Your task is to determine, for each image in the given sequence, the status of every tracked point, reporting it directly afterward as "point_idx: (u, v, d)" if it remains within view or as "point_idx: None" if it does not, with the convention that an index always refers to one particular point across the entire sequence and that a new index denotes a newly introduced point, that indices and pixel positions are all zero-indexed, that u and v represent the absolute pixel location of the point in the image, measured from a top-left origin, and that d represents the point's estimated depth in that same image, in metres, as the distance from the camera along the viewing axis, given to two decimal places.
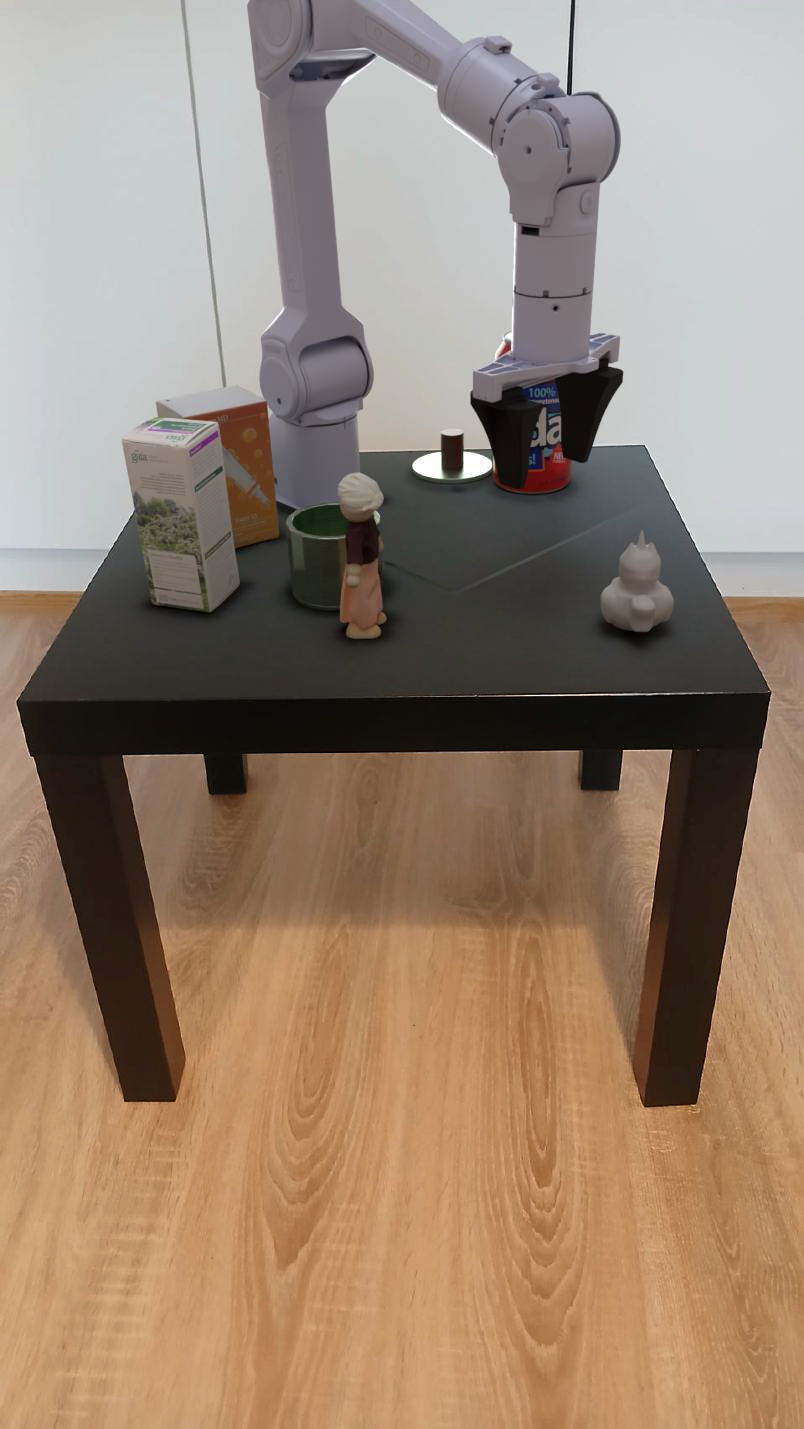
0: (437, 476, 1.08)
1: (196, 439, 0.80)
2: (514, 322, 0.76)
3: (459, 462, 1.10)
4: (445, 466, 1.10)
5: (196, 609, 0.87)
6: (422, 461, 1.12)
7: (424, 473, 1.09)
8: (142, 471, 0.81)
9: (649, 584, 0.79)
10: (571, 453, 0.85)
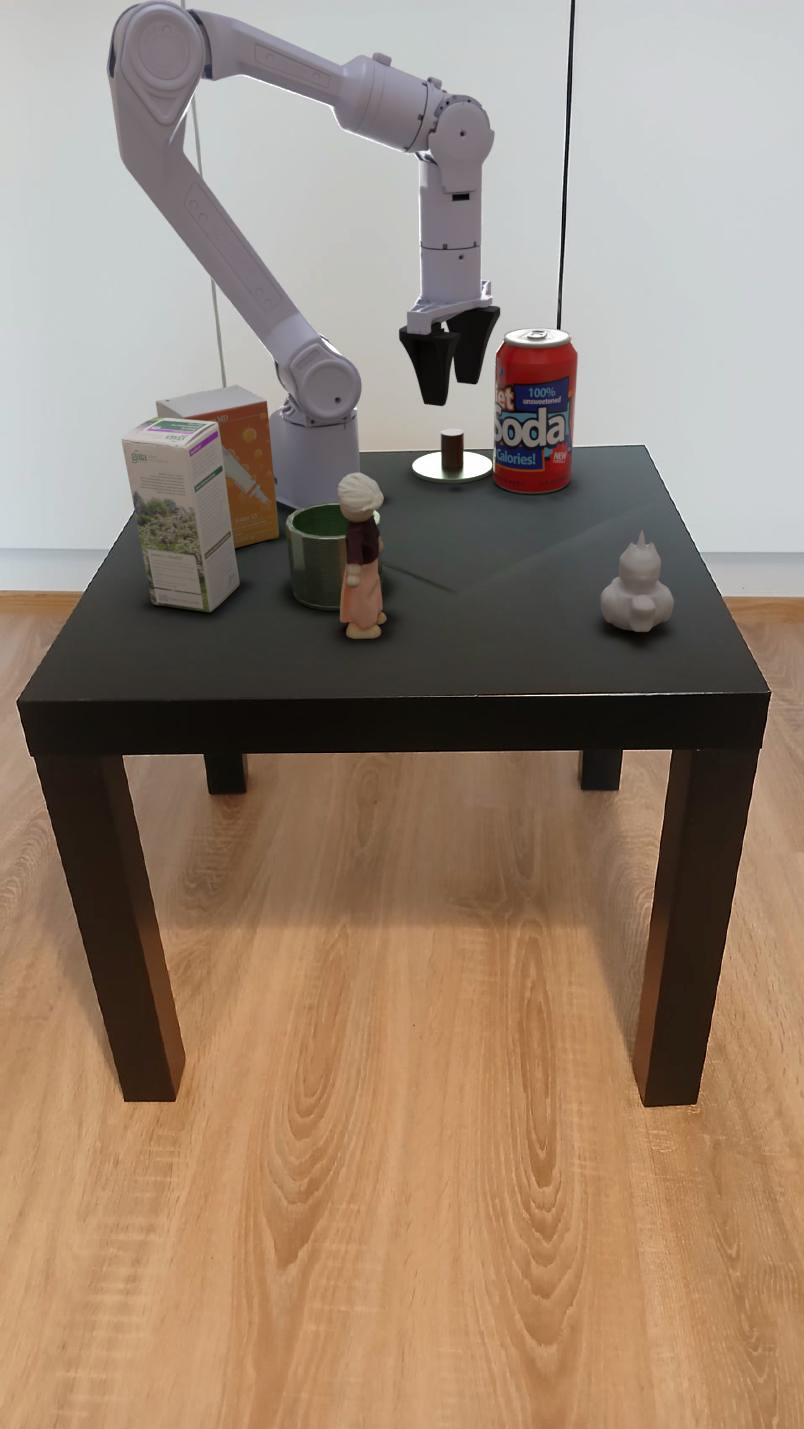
0: (437, 476, 1.08)
1: (196, 439, 0.80)
2: (425, 272, 0.96)
3: (459, 462, 1.10)
4: (445, 466, 1.10)
5: (196, 609, 0.87)
6: (422, 461, 1.12)
7: (424, 473, 1.09)
8: (142, 471, 0.81)
9: (649, 584, 0.79)
10: (464, 377, 1.06)
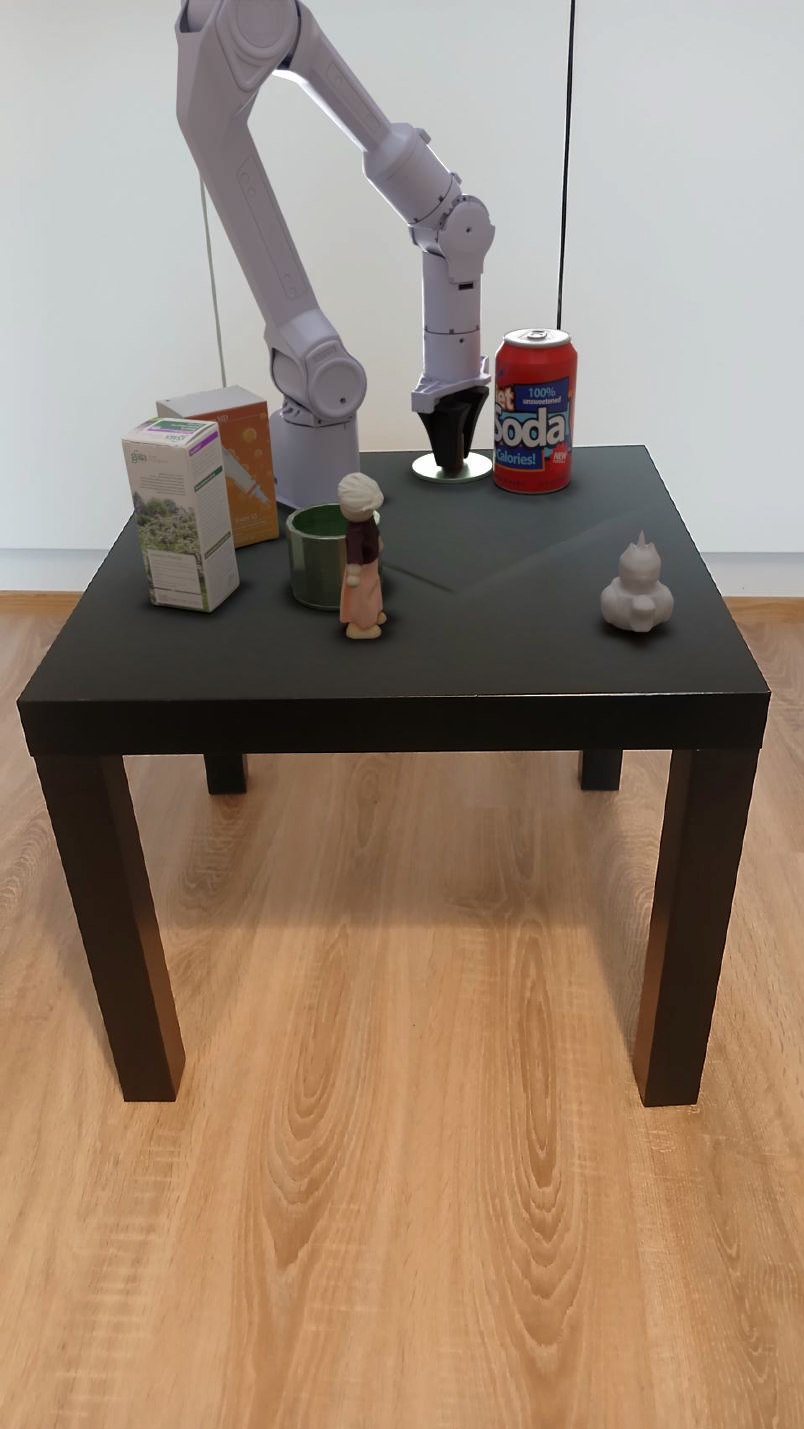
0: (437, 476, 1.08)
1: (195, 439, 0.80)
2: (428, 353, 1.03)
3: (459, 462, 1.10)
4: None
5: (196, 609, 0.87)
6: (422, 461, 1.12)
7: (424, 473, 1.09)
8: (142, 471, 0.81)
9: (649, 584, 0.79)
10: None
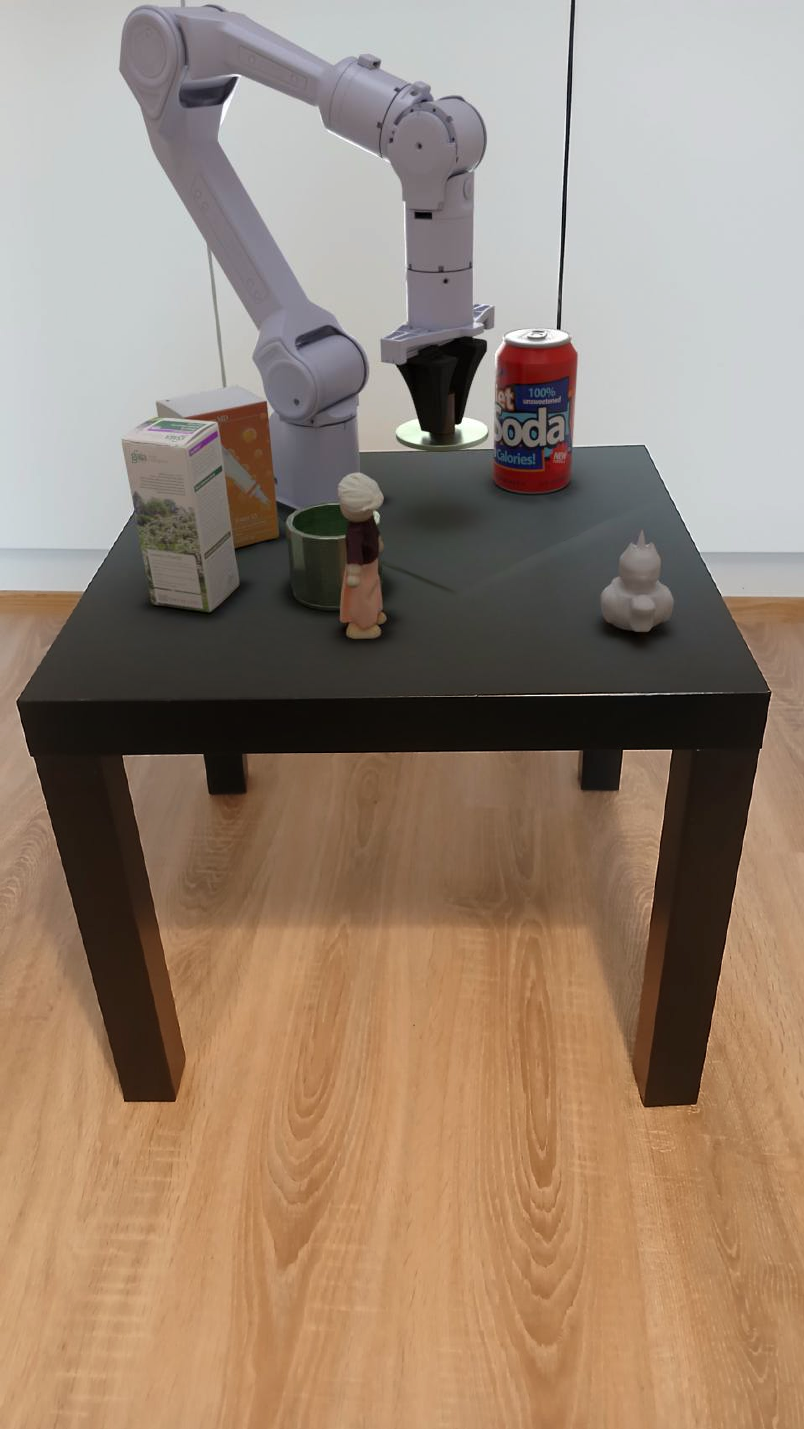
0: (418, 442, 0.93)
1: (195, 439, 0.80)
2: (409, 295, 0.88)
3: (448, 427, 0.94)
4: None
5: (196, 609, 0.87)
6: (410, 425, 0.97)
7: (405, 438, 0.94)
8: (142, 471, 0.81)
9: (648, 584, 0.79)
10: None
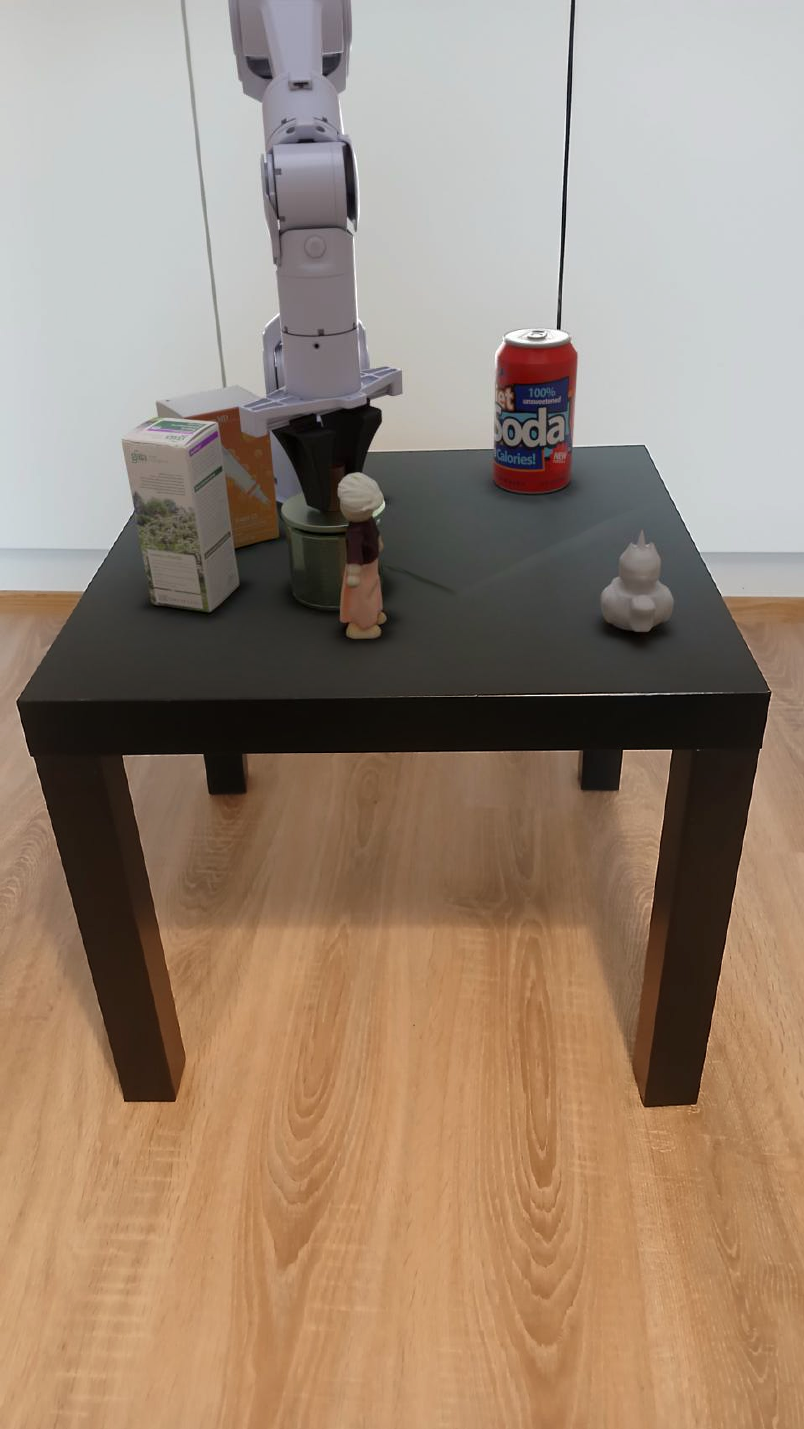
0: (297, 519, 0.83)
1: (195, 439, 0.80)
2: (283, 358, 0.78)
3: (336, 504, 0.84)
4: None
5: (196, 609, 0.87)
6: None
7: (287, 512, 0.84)
8: (142, 471, 0.81)
9: (648, 584, 0.79)
10: None
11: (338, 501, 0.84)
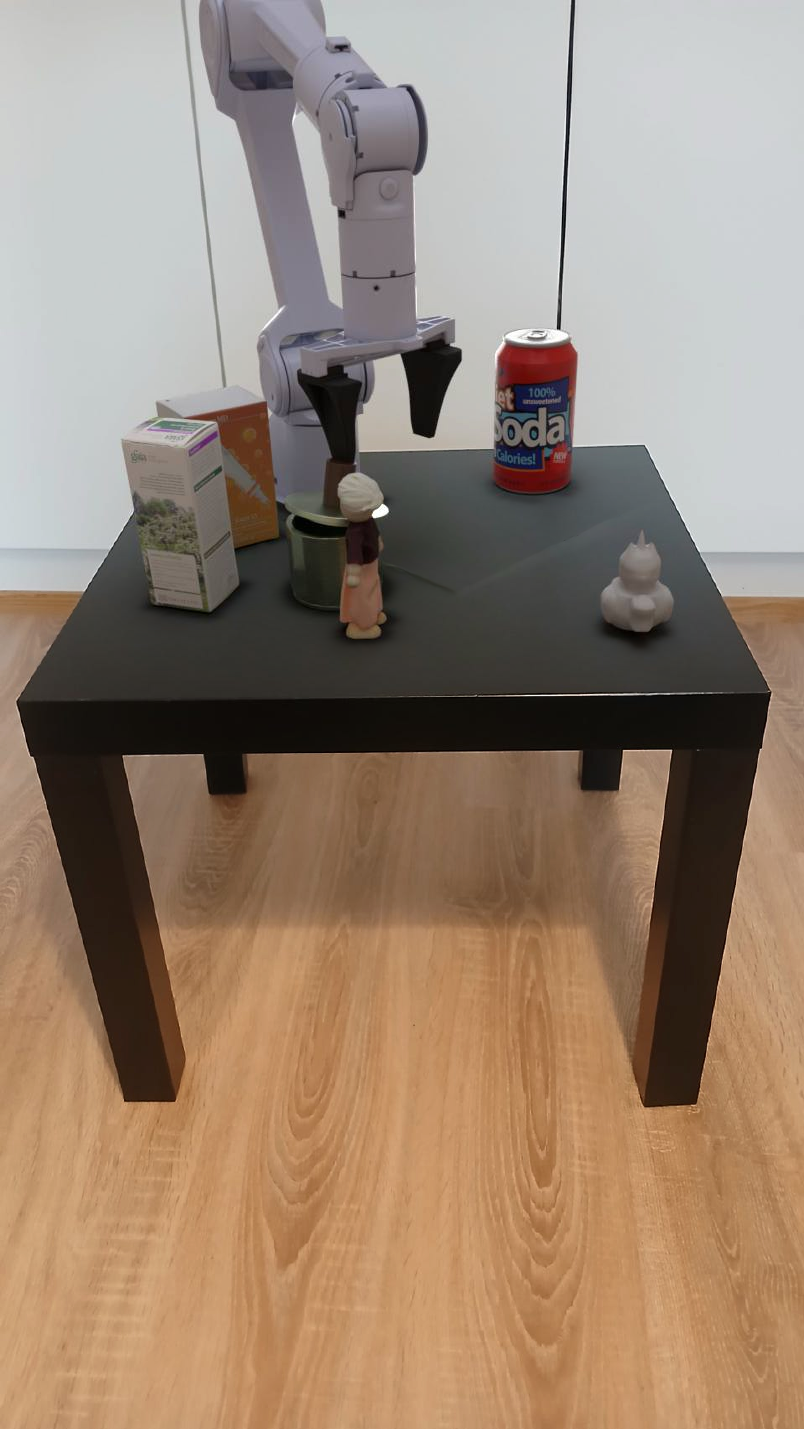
0: (301, 508, 0.83)
1: (195, 439, 0.80)
2: (343, 302, 0.80)
3: None
4: (324, 502, 0.85)
5: (195, 609, 0.87)
6: (308, 494, 0.87)
7: (291, 502, 0.84)
8: (141, 471, 0.81)
9: (648, 584, 0.79)
10: (419, 429, 0.89)
11: None
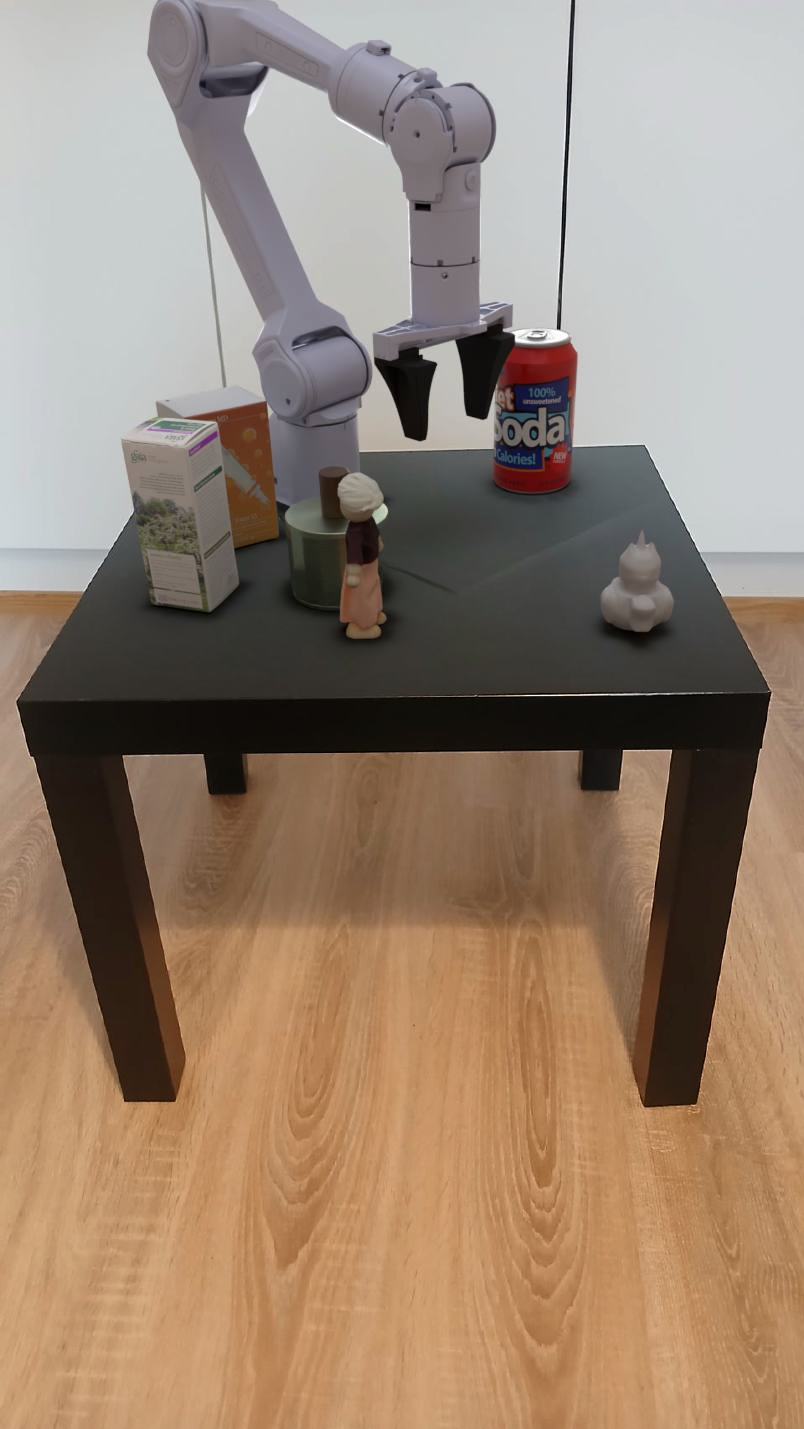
0: (301, 526, 0.84)
1: (195, 439, 0.80)
2: (411, 289, 0.85)
3: (339, 511, 0.84)
4: (323, 514, 0.85)
5: (195, 609, 0.87)
6: (306, 503, 0.88)
7: (291, 520, 0.85)
8: (141, 471, 0.81)
9: (649, 584, 0.79)
10: (473, 411, 0.94)
11: None
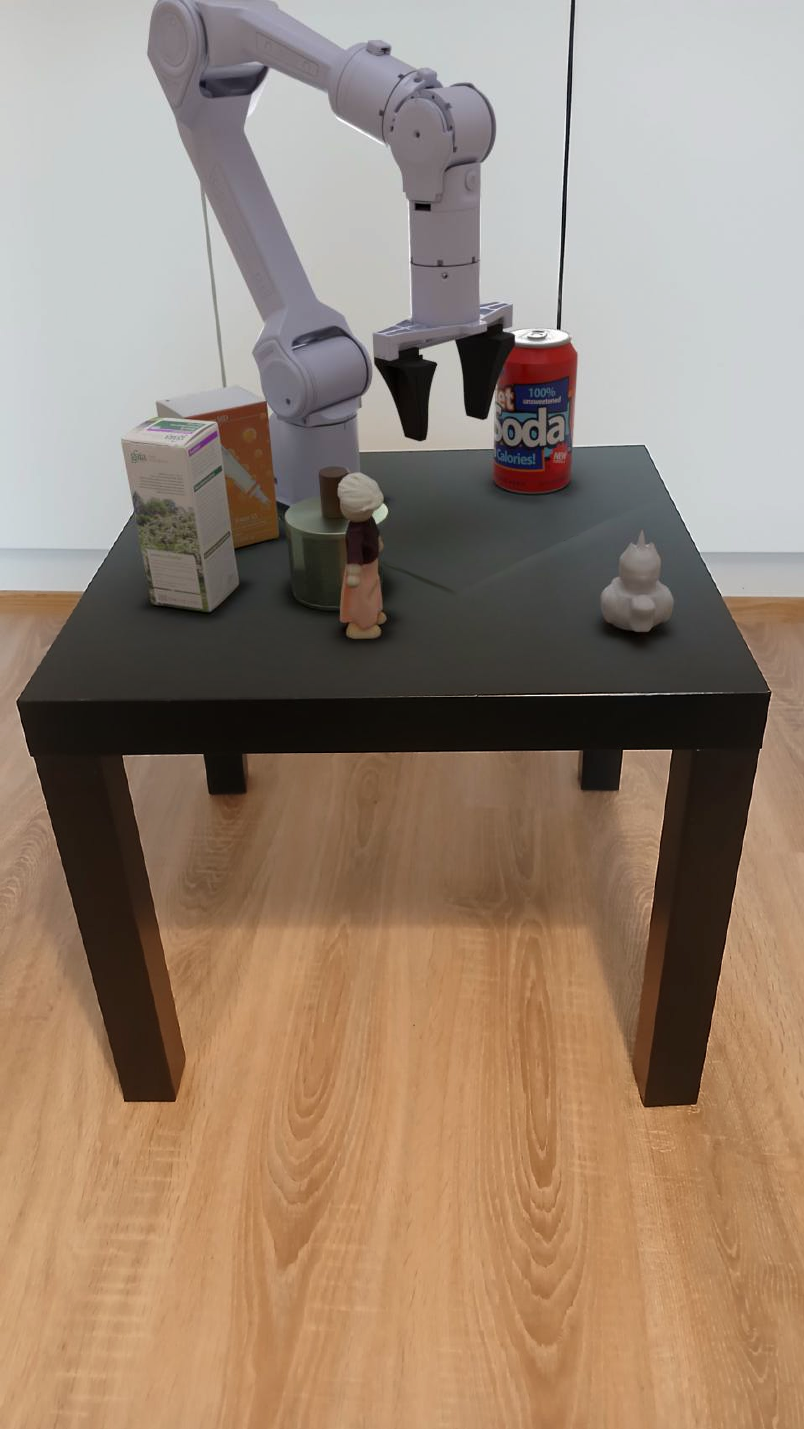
0: (301, 526, 0.84)
1: (195, 439, 0.80)
2: (411, 289, 0.85)
3: (339, 511, 0.84)
4: (323, 514, 0.85)
5: (195, 609, 0.87)
6: (306, 503, 0.88)
7: (291, 520, 0.85)
8: (141, 471, 0.81)
9: (649, 584, 0.79)
10: (473, 411, 0.94)
11: None
